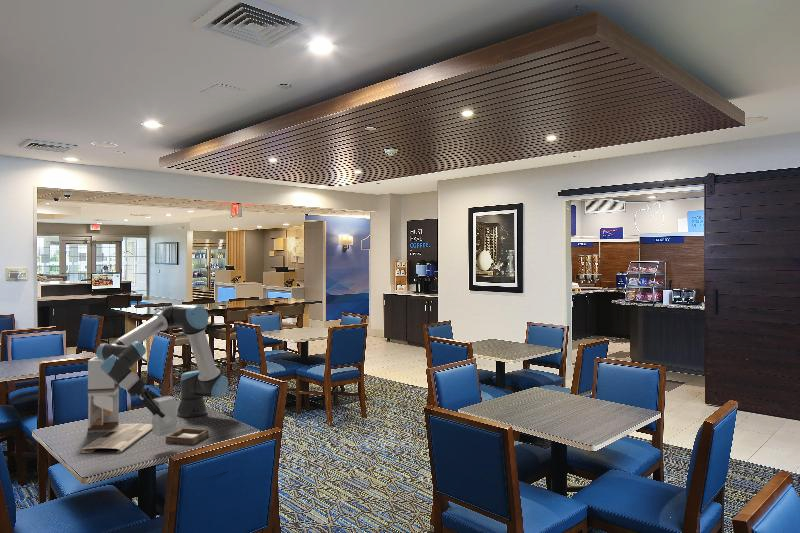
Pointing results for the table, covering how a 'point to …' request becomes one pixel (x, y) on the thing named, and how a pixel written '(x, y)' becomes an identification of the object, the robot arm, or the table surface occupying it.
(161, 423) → the skincare box
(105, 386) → the paper towel dispenser
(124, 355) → the robot arm
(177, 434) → the walnut tray
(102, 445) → the newspaper
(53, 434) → the table surface
